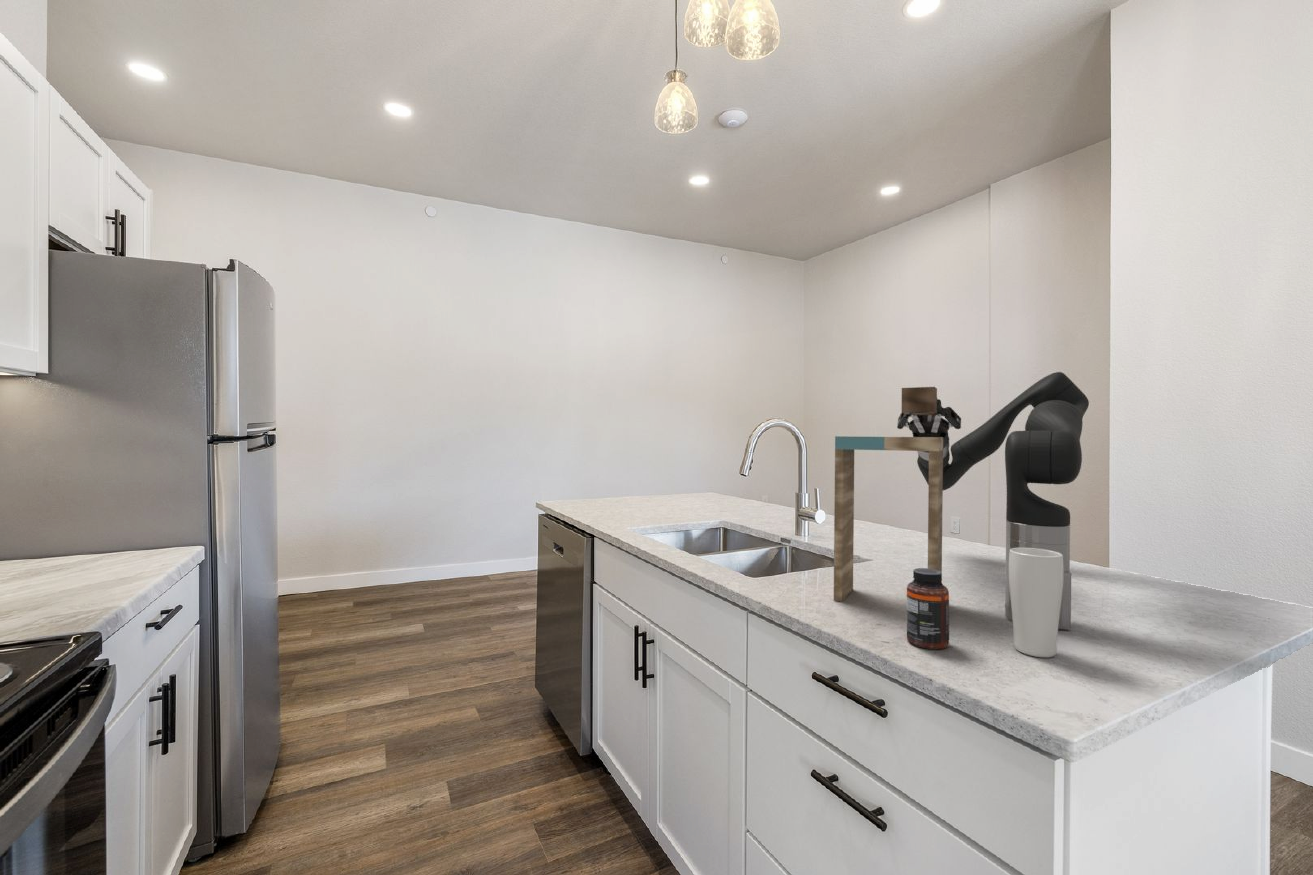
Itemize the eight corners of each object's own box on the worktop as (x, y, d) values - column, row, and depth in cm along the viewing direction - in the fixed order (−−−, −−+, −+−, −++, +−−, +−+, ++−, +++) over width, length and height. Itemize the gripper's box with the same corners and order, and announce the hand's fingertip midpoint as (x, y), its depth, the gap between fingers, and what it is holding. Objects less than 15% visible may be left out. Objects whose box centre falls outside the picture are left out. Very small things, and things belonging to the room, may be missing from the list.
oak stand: (941, 602, 107) (943, 437, 107) (936, 616, 99) (938, 437, 99) (845, 588, 117) (847, 436, 117) (833, 600, 108) (835, 436, 108)
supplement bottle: (939, 637, 89) (940, 566, 89) (955, 651, 83) (956, 576, 83) (900, 635, 89) (901, 565, 89) (914, 650, 83) (915, 574, 83)
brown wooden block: (942, 415, 125) (942, 392, 125) (934, 412, 110) (934, 386, 110) (912, 415, 128) (913, 393, 128) (901, 412, 113) (901, 387, 113)
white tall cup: (1064, 664, 78) (1065, 558, 78) (1007, 654, 82) (1008, 553, 82) (1060, 649, 84) (1061, 550, 84) (1007, 640, 88) (1008, 545, 88)
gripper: (964, 454, 129) (960, 415, 116) (898, 452, 136) (888, 415, 124) (965, 426, 132) (961, 385, 119) (901, 426, 140) (891, 387, 127)
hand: (924, 401), depth 122 cm, fingers closed on brown wooden block, 3 cm apart
